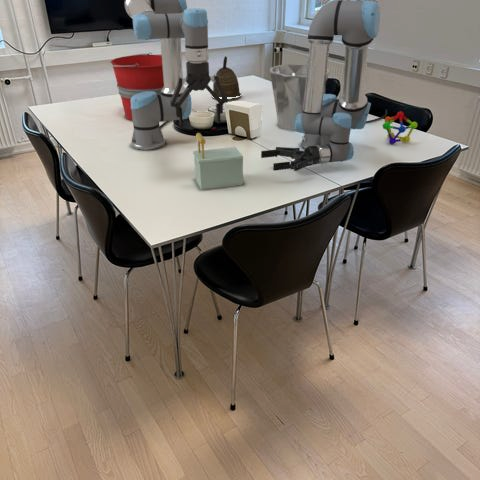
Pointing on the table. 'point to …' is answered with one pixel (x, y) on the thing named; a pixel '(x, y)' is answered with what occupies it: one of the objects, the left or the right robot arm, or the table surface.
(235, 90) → the bell
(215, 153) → the lid
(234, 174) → the chest
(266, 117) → the table surface
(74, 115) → the table surface
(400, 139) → the educational toy
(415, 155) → the table surface
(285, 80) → the bucket
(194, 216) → the table surface
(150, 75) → the bucket
